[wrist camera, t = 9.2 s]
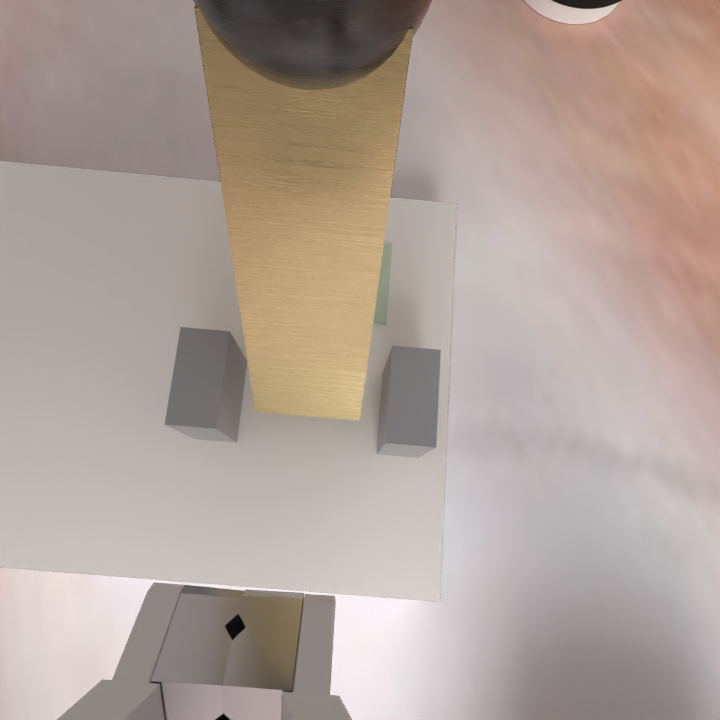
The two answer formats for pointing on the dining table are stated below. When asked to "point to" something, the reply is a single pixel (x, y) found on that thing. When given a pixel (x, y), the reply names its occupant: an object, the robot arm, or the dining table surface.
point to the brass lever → (307, 182)
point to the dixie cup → (573, 9)
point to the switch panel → (206, 400)
